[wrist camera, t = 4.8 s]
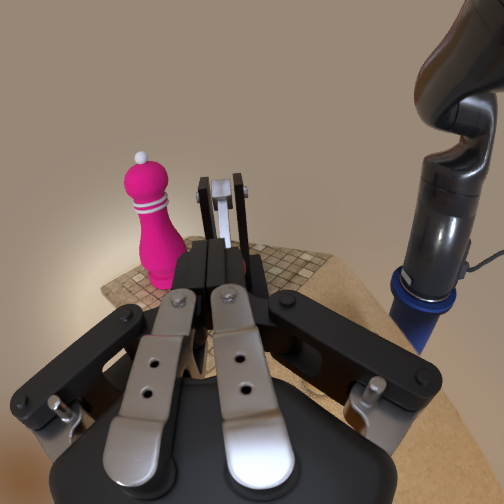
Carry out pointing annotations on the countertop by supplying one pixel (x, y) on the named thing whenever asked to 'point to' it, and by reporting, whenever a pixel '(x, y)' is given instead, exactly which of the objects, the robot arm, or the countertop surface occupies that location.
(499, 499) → the countertop surface
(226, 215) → the lever
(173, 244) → the pepper mill
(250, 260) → the bracket
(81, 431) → the robot arm
